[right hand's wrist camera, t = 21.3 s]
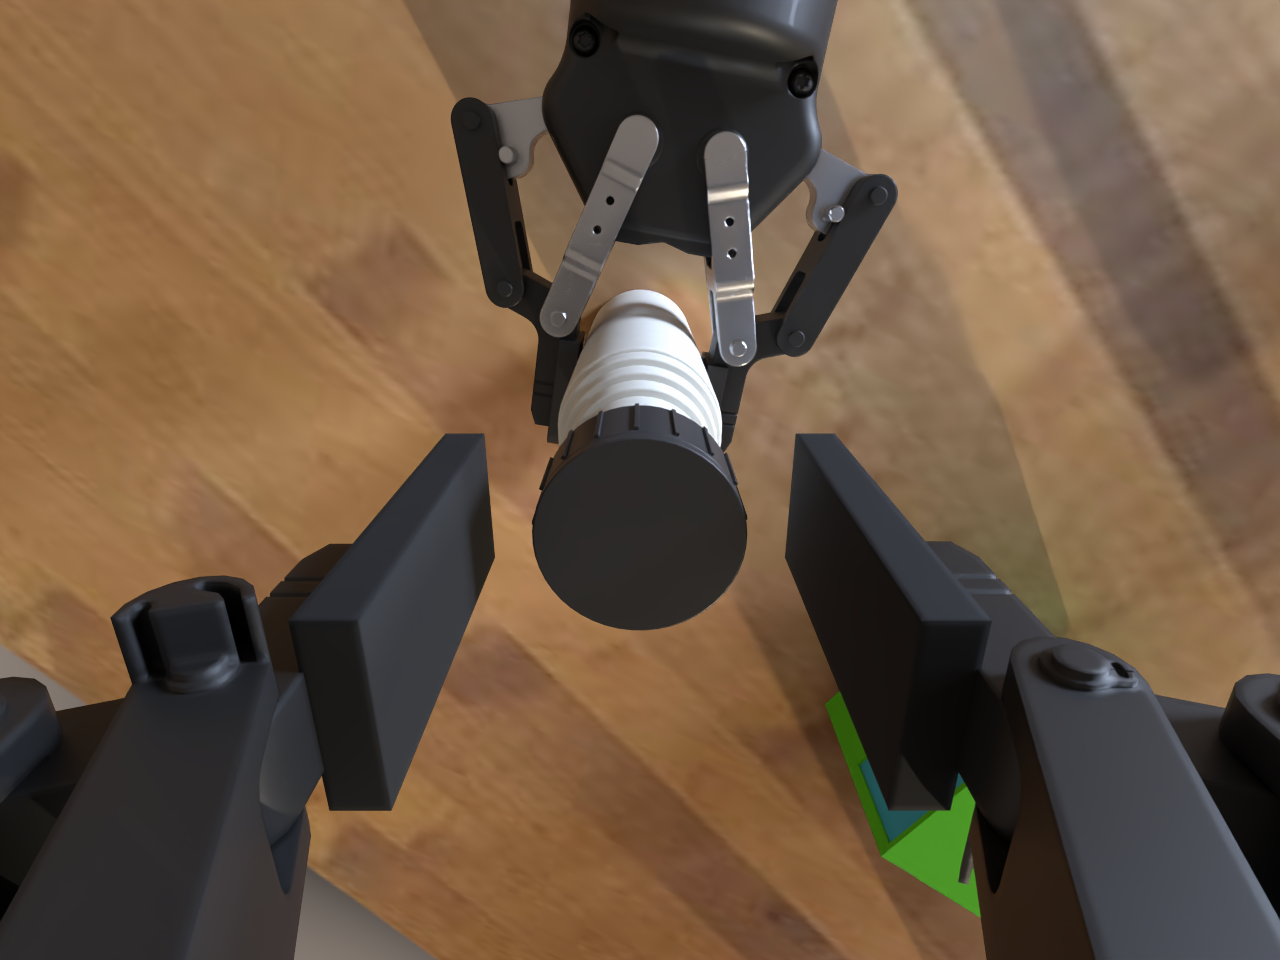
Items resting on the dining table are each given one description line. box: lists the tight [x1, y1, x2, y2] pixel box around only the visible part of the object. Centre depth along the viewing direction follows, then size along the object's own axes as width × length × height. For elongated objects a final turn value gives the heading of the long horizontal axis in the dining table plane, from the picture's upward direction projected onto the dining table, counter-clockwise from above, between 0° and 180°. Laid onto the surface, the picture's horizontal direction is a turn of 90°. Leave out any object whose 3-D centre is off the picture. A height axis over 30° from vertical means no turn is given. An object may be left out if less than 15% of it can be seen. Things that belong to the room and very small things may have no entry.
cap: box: [532, 403, 747, 630], centre depth 13 cm, size 4×4×2 cm
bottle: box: [558, 290, 722, 447], centre depth 21 cm, size 4×4×18 cm
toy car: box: [825, 691, 981, 918], centre depth 32 cm, size 10×13×10 cm
